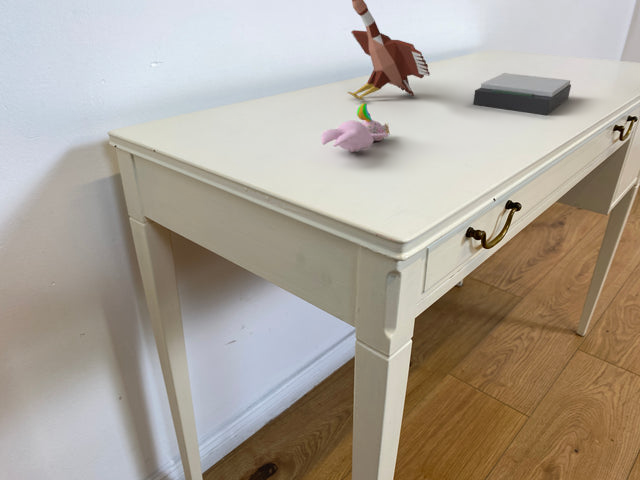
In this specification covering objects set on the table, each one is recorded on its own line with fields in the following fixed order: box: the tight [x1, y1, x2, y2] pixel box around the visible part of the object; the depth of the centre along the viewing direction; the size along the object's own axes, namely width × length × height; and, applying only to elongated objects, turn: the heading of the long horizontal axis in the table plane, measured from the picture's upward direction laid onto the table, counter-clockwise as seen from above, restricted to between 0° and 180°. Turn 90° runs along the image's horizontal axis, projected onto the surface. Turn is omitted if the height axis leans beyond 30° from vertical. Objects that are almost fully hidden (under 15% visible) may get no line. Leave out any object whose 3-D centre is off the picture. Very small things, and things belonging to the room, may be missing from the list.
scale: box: [472, 72, 572, 116], centre depth 86 cm, size 14×12×3 cm
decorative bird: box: [346, 0, 431, 101], centre depth 86 cm, size 28×18×15 cm, turn 18°
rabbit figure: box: [320, 102, 391, 153], centre depth 63 cm, size 6×6×15 cm
